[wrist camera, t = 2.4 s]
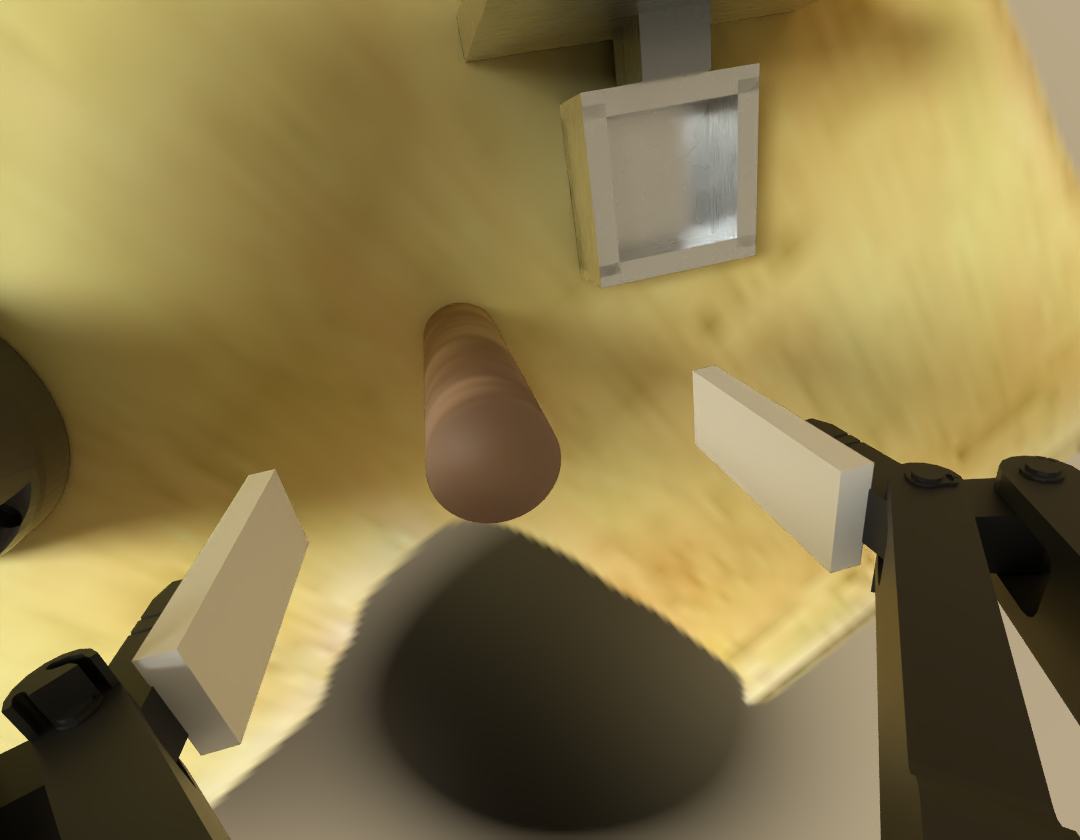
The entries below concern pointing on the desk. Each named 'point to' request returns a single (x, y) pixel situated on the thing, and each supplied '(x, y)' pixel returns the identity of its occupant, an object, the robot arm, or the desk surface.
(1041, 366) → the desk surface
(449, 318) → the handle
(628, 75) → the bracket
